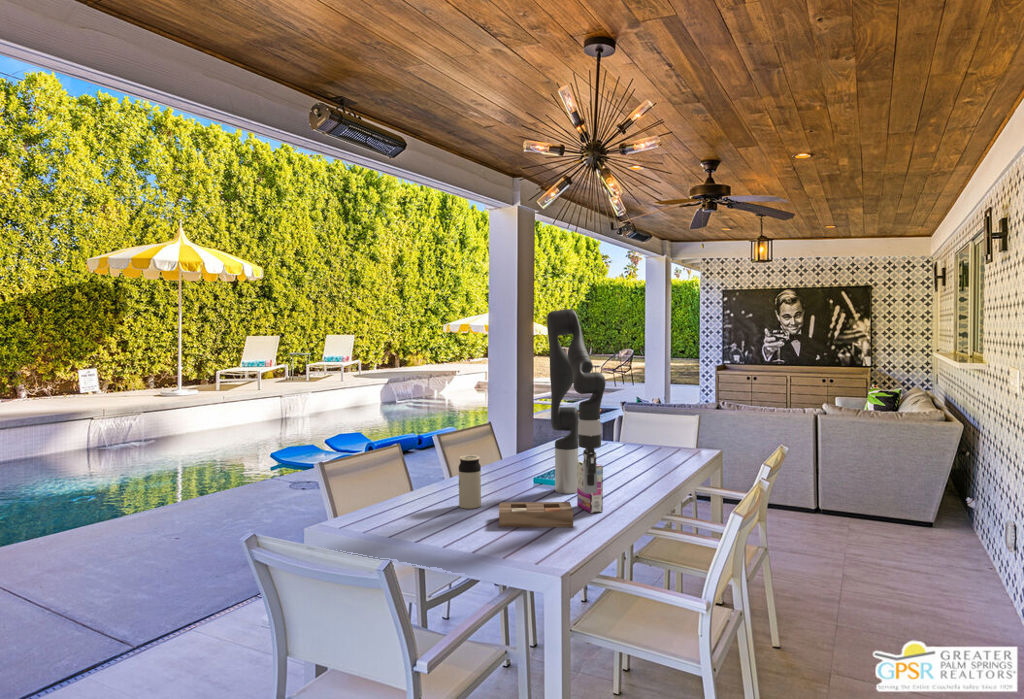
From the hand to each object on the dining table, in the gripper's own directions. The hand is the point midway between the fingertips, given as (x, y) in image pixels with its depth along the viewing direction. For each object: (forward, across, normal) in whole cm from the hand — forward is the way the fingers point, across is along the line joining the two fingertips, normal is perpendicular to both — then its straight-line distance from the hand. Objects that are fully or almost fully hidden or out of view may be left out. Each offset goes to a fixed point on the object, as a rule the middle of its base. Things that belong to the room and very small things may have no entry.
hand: (589, 483), depth 219 cm
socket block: (+13, 0, -18) cm, 22 cm away
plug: (+3, 0, 0) cm, 3 cm away
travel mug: (+13, -20, -41) cm, 48 cm away
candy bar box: (+13, -15, +2) cm, 20 cm away
